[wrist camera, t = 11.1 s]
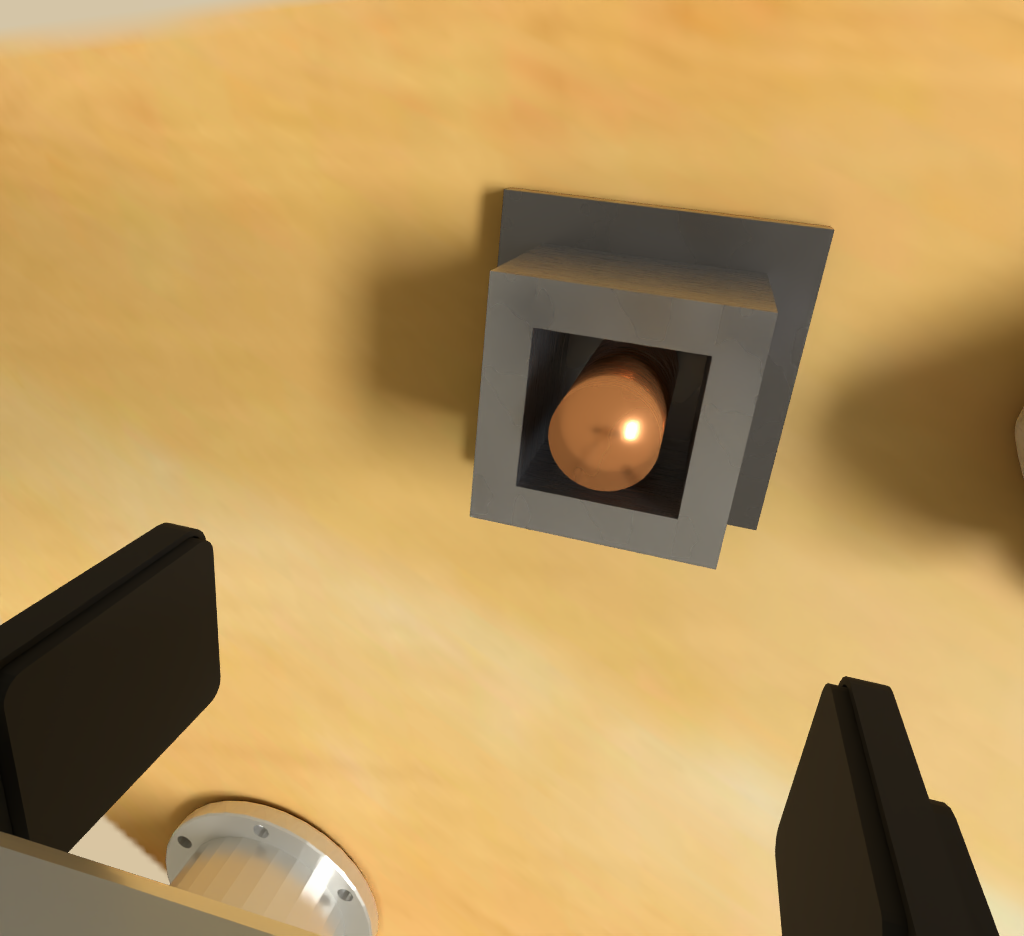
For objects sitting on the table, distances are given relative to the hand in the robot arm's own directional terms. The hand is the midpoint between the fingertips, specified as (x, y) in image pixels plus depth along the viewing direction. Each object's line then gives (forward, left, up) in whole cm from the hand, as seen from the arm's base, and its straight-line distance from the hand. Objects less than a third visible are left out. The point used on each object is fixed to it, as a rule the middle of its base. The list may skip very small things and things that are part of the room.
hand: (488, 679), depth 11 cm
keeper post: (+1, 0, -17) cm, 17 cm away
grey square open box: (+1, 0, -16) cm, 16 cm away
